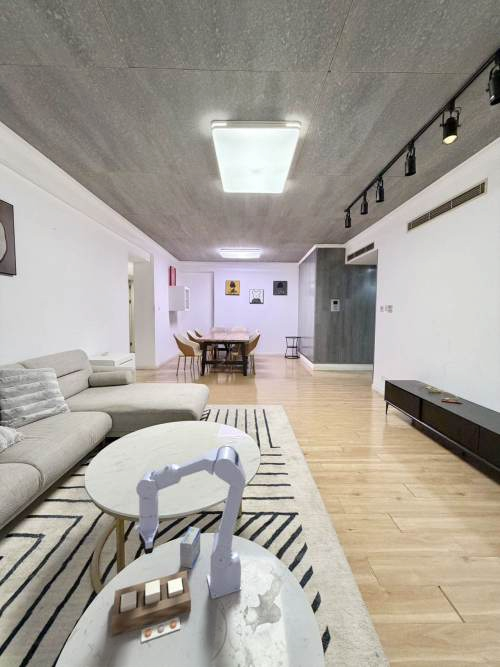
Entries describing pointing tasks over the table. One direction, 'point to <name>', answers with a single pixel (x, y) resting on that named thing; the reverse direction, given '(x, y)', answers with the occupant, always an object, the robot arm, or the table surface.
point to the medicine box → (190, 547)
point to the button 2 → (175, 587)
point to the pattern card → (160, 629)
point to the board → (150, 605)
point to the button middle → (152, 592)
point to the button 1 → (128, 601)
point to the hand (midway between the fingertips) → (148, 552)
